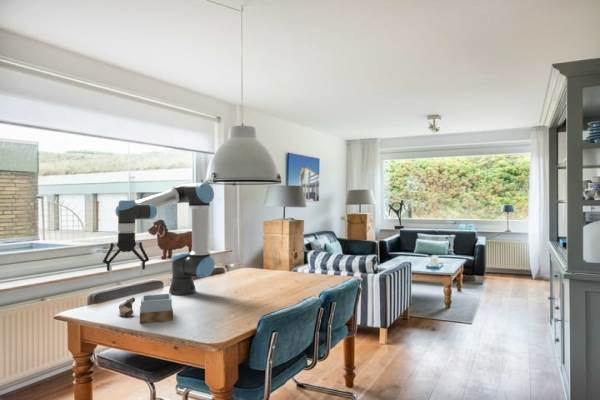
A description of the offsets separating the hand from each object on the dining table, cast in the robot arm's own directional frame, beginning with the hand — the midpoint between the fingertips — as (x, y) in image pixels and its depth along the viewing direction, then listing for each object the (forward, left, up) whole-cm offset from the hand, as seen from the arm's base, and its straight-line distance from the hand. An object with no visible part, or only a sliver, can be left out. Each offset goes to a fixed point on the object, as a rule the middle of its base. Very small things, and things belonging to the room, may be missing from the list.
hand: (126, 277), depth 199 cm
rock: (0, 0, -18) cm, 18 cm away
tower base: (-13, +11, -18) cm, 25 cm away
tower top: (-13, +11, -13) cm, 22 cm away
